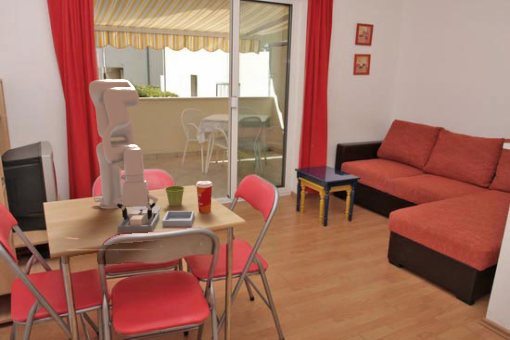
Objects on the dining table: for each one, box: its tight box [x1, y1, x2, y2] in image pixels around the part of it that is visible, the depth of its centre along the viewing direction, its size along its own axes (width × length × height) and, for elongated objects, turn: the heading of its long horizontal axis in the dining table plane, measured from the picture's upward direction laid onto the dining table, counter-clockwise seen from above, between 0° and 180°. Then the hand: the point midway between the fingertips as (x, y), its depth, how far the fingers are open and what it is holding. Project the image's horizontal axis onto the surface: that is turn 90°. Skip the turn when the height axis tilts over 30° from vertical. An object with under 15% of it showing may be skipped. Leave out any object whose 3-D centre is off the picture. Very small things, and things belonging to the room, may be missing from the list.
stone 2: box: [142, 209, 154, 223], centre depth 173 cm, size 4×4×4 cm
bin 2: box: [161, 210, 195, 227], centre depth 174 cm, size 12×12×3 cm
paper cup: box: [195, 180, 213, 214], centre depth 187 cm, size 8×8×14 cm
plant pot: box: [164, 185, 185, 207], centre depth 196 cm, size 9×9×9 cm
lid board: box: [127, 205, 162, 214], centre depth 185 cm, size 14×14×2 cm
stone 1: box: [129, 211, 142, 223], centre depth 173 cm, size 4×4×4 cm
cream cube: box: [130, 215, 144, 226], centre depth 166 cm, size 4×4×4 cm
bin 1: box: [117, 212, 160, 233], centre depth 170 cm, size 14×16×3 cm
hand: (137, 218), depth 165 cm, fingers open, 9 cm apart
